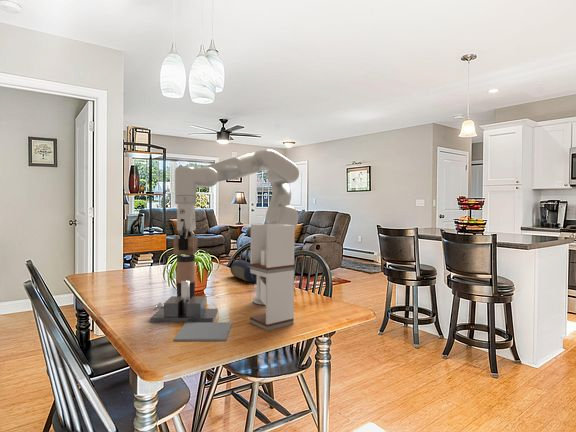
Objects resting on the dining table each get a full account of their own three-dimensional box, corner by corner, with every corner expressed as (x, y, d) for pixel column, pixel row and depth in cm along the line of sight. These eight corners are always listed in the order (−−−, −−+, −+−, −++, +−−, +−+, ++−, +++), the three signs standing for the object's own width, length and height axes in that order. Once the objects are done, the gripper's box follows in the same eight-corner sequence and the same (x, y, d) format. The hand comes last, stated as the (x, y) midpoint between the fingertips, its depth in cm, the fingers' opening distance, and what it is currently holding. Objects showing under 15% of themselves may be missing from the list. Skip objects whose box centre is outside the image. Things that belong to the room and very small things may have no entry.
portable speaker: (228, 276, 216) (228, 259, 215) (243, 275, 221) (243, 258, 221) (248, 285, 195) (248, 266, 194) (264, 283, 200) (265, 264, 200)
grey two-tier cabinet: (275, 316, 141) (276, 223, 140) (293, 324, 133) (294, 225, 132) (249, 322, 134) (250, 224, 133) (267, 330, 126) (268, 226, 124)
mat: (231, 324, 132) (231, 322, 132) (225, 340, 116) (225, 338, 116) (185, 324, 131) (185, 322, 131) (173, 341, 115) (173, 339, 115)
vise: (217, 312, 146) (217, 277, 145) (212, 322, 134) (212, 284, 133) (160, 312, 145) (160, 277, 144) (150, 322, 133) (150, 284, 132)
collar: (197, 252, 142) (197, 236, 142) (193, 254, 135) (193, 237, 135) (178, 251, 142) (178, 236, 142) (173, 254, 135) (173, 237, 135)
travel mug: (190, 304, 156) (190, 256, 156) (173, 303, 158) (173, 256, 157) (198, 299, 164) (198, 254, 163) (181, 298, 166) (181, 253, 165)
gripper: (190, 200, 129) (190, 252, 130) (200, 200, 146) (200, 246, 147) (168, 200, 129) (168, 251, 129) (181, 200, 146) (181, 245, 147)
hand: (185, 248), depth 138 cm, fingers closed on collar, 7 cm apart
